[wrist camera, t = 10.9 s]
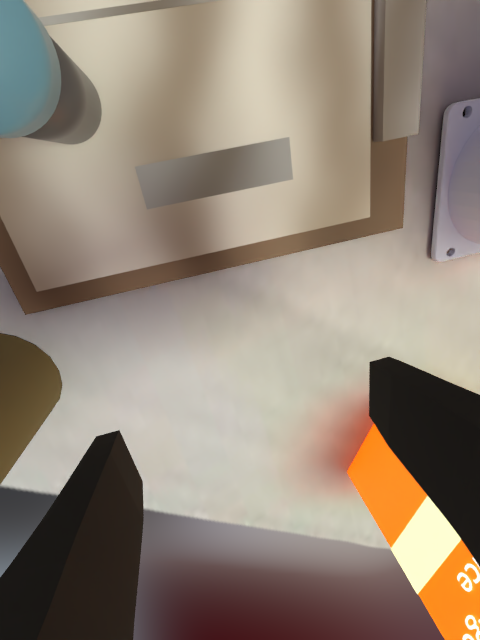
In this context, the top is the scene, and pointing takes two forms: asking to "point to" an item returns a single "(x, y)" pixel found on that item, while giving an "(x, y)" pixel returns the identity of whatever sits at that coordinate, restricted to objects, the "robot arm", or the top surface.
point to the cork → (23, 396)
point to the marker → (41, 83)
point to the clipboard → (212, 140)
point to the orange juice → (420, 539)
